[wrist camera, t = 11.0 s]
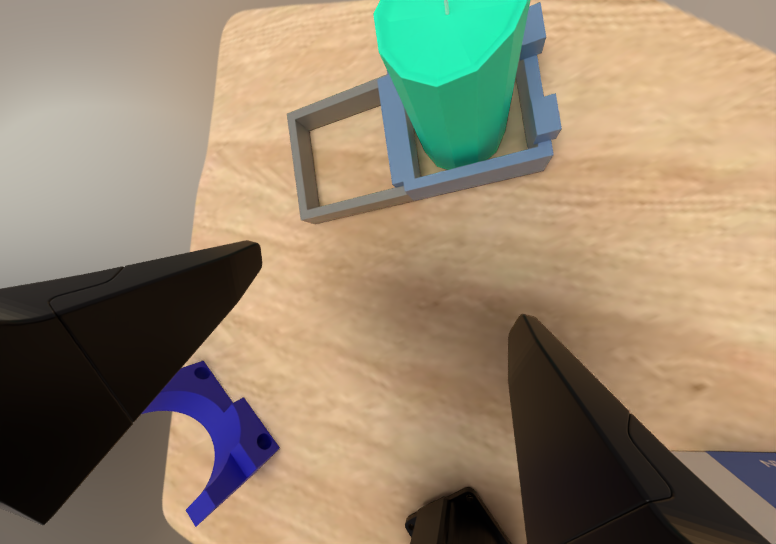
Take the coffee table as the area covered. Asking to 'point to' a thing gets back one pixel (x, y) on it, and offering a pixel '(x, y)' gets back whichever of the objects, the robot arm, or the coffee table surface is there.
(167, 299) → the robot arm
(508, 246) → the coffee table surface
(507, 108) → the candle
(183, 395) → the cable clip
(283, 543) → the coffee table surface
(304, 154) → the frame
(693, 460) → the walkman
